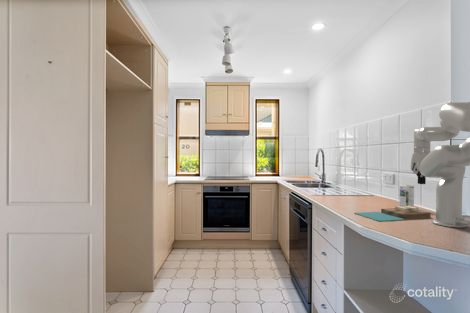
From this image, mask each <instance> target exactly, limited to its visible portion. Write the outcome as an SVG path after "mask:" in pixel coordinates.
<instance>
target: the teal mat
mask: <svg viewBox="0 0 470 313" xmlns="http://www.w3.org/2000/svg"><path fill="white" fill-rule="evenodd" d="M354 214H355V215H358V216H361V217H363V218H367V219H370V220H373V221H376V222H392V221H394V222H396V221H406V219H402V218H398V217H395V216H391V215H388V214H384V213H381V211H369V212H368V211H367V212H366V211H365V212H354Z"/></svg>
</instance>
